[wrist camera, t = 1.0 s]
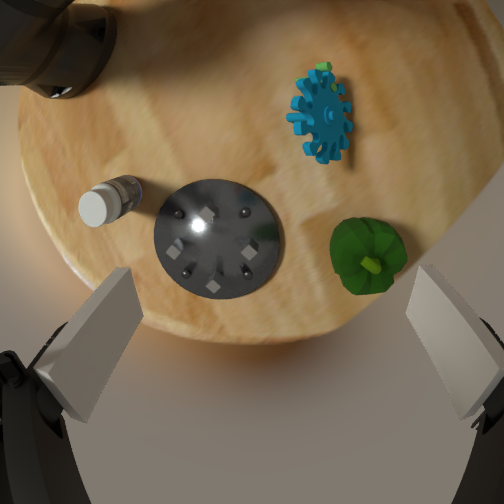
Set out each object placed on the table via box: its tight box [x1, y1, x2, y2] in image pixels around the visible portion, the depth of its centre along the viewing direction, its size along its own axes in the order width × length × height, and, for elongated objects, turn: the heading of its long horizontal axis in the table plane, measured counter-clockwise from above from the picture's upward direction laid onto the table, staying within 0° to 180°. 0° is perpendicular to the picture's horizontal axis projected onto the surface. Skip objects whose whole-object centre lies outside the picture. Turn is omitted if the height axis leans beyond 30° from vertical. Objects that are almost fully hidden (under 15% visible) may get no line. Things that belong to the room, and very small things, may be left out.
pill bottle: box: [79, 175, 142, 227], centre depth 28 cm, size 5×5×8 cm
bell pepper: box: [330, 217, 407, 295], centre depth 28 cm, size 8×8×10 cm
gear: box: [286, 62, 353, 164], centre depth 25 cm, size 11×6×10 cm
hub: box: [154, 179, 280, 299], centre depth 33 cm, size 16×16×3 cm
